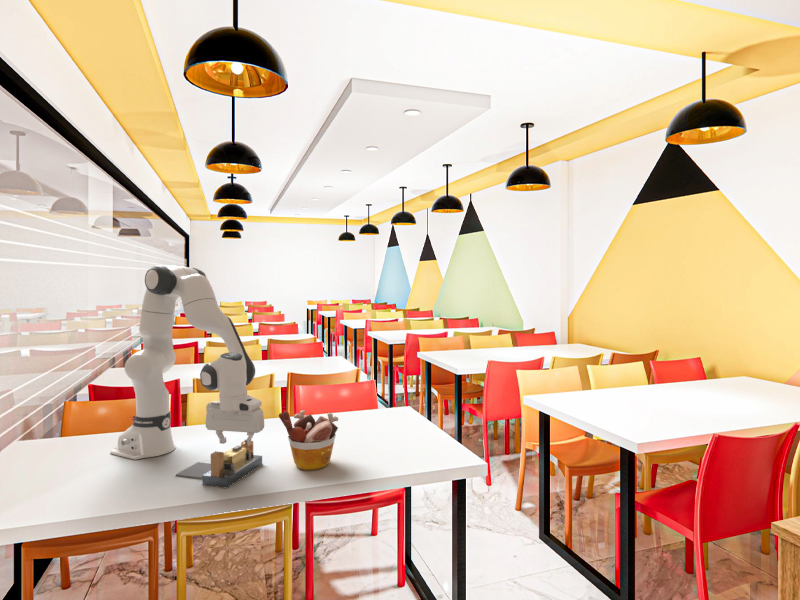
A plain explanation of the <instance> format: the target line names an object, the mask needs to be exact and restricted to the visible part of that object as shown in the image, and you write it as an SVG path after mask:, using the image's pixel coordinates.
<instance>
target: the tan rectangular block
mask: <svg viewBox="0 0 800 600" xmlns="http://www.w3.org/2000/svg"><path fill="white" fill-rule="evenodd" d="M245 460H247V456H246V448H242V446H241V445H235V446H233V447H232V448H231V449H228V450H226V451H225V452H224V462H228V463H234V467H236V466H237V465H239V464H241V463H242V462H244V461H245Z"/></svg>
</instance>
